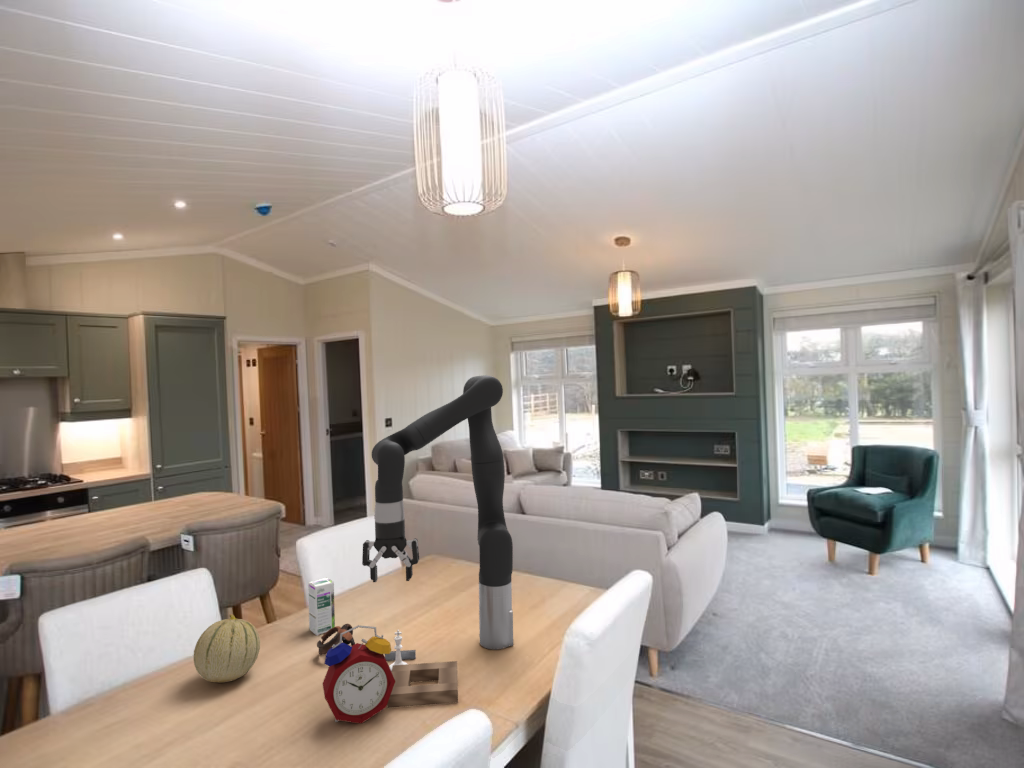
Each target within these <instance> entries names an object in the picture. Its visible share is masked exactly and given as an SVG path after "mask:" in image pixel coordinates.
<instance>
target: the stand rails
mask: <svg viewBox="0 0 1024 768" xmlns="http://www.w3.org/2000/svg"><path fill="white" fill-rule="evenodd" d="M400 652H401V659H402V661H407V660H416V657H417V655H416V654H417V653H416V652H417V650H416V649H405V650H404V649H403V650H400ZM384 656H385V659H386V661H387V662H391V661H394V662H395V659H396V650H393V651H392V650H391V652H390V654H384ZM391 672H392V671H391Z"/></svg>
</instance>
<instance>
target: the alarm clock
mask: <svg viewBox="0 0 1024 768" xmlns="http://www.w3.org/2000/svg"><path fill="white" fill-rule="evenodd" d="M358 628H361V629H363V628H364V629H373V631H374V636H372V637H370V638H369V639H368V640H366V639H364V638H361V642H362V643H359V642H355V644H354V645H353V646H351V645H350V644H349V645H347V644H345V643H343V641H342V635H343V634H345V633H347V632H349V631H352V630H353V631H354V630H356V629H358ZM377 633H378V632H377V626H369V625H359V624H358V625H356V626H354V627H352V629H349V630H347V631H345V632H343V633H341V634H340V642H339V643H338V644H337V645H334V644H333V646H332V648H331V649H329V650H328V652H327V654H325V658H324V665H326V666H327V667H328V669H327V671H326V672H325V673H326V674H325V676H324V678H323V682H322V689H323V693H324V694H323V695H324V699H325V701H326V703H327V705H328V707H329V708H330V711H331V713H332V715H333V717H334V722H335V723H338V722H339V721H340V722H348V723H353V724H354V723H355V724H363V723H365V722H366V721H368V720H369V719H371V718H372V717H374V716H376V714H378V713H380V712H383V710H384V709H387V703H388V700H389V698H390V695H391V692H392V689H393V687H394V684H395V679H394V677H393V674H392V672H391V669H390V667H389V666H390V664H389V663H388V661H386V659H385V654H390V652H391V651H392V647H391V642H390V641H389V640H387V639H386V638H384V634H381V636H380V635H378V634H377Z"/></svg>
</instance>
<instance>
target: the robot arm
mask: <svg viewBox="0 0 1024 768" xmlns="http://www.w3.org/2000/svg"><path fill="white" fill-rule="evenodd" d="M503 393H504V388H503V384H502V383H501V381H500V380H499V379H498V378H496V377H495V376H493V375H492V376H491V375H487V374H486V375H476V376H472V377H470V378H468V379H467V381H466V382H465V384H464V386H463V390H462V394H461V395H460V396H458V397H456V398H455V399H453V400H451V401H450V402H448V403H446V404H444V405H442V406H440V407H437V408H436V409H434V410H431V411H429V412H427V413H426V414H424V415H421V416H420V417H419V418H417V419H416V420H415V421H413V422H411V423H410V424H408V425H407V426H405V427H404V428H402V429H401V430H398V431H395V432H393V433H391V434H389V435H388V436H386V437H384V438H383V439H381V440H379V441H378V442H377V443H375V444H374V446H373V448H372V450H371V459H372V461H373V463H375V464H376V465H377V480H376V481H375V484H374V498H375V499H374V501H375V502H374V503H375V504H374V515H373V516H374V518H373V519H374V530H375V531H374V536H375V537H374V541H370V540H368V539H367V540H364V542H363V543H362V558H361V559H362V560H361V561H362V562H361V565H362V566H363V567H369V572H370V574H369V575H370V577H369V578H370V580H371V581H372V583H377V581H378V579H379V577H378V565H377V563H378V562H379V560H380V559H381V557H382V558H383V559H398V558H399V560H400V561H402V562H403V563H404V565H405V581H406V582H410V581H411V579H412V577H413V575H414V574H413V571H414V570H413V565H417V564H418V563H419V561H420V553H419V552H420V551H419V541H418V540H419V539H418V538H413V539H406V525H405V522H406V520H405V519H406V518H405V517H406V516H405V504H404V491H403V490H404V488H403V481H404V479H403V478H404V473H405V463H406V462H405V461H406V460H405V459H406V458H405V457H406V456H407V455H408V454H410V453H411V452H414V451H418V450H421V449H423V448H424V447H425V446H427V445H429V444H430V443H431V442H433V441H435V440H436V439H438V438H439V437H440V436H442V435H443V434H444V433H446V432H448V431H449V430H451V429H452V428H453V427H456V426H457V425H458V424H460V423H462V422H463V421H465V420H467V422H468V423H467V424H468V433H469V434H468V436H469V448H470V462H471V463H470V464H471V475H472V482H473V486H474V487H473V488H474V493H475V498H476V504H477V545H478V546H479V568H478V569H479V571H478V612H479V613H478V615H479V617H478V618H479V621H478V623H479V624H478V625H479V626H478V627H479V634H478V635H479V636H478V637H479V644H480V645H481V646H482V647H483V648H485V649H488V650H502V649H506V648H508V647H512V646H514V611H513V598H512V597H513V595H512V594H513V593H512V590H513V589H512V585H513V584H512V574H513V566H514V565H513V564H514V563H513V562H514V561H513V558H514V555H513V553H514V550H513V545H514V544H513V538H512V535H511V534H510V532H509V530H508V526H507V523H506V518H505V512H504V511H505V510H504V501H503V500H504V492H505V490H504V489H505V478H506V477H505V476H506V475H505V472H506V471H505V462H504V460H505V459H504V452H503V449H502V446H501V444H500V441H499V438H498V436H497V433H496V431H495V428H494V424H493V415H492V408H493V407H495V406H496V405H497V404H499V402H500V401H501V399H502V397H503V395H504V394H503ZM407 546H408V548H409V549H410V550H411V552H412V558H411V557H410V556H409V553H408V552H407V551H406V549H405V548H406V547H407ZM373 547H374V549H375V550H376V551H377V553H376V555H375V557H374V558H373V559H372V560H371V559H370V553H371V550H372V549H373Z"/></svg>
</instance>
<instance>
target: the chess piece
mask: <svg viewBox="0 0 1024 768" xmlns="http://www.w3.org/2000/svg"><path fill="white" fill-rule="evenodd" d="M394 635H395V637H394V638H393V640H394V643H395V645H394V647H393V649H394V650H395V651H396V659H395V660H394V662H393V663H391V664H389V667H390V669H391V671H392V667H393V665H406V664H408V662H406V661H404V660H402V659H401V652H400V651H401V649H403V645H402V640H403V636H401V635H402V631H400V629H397V630H396V632H394Z"/></svg>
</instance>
